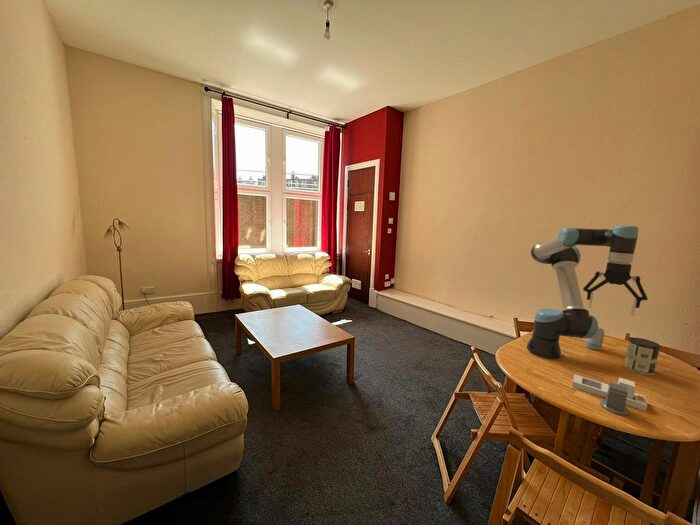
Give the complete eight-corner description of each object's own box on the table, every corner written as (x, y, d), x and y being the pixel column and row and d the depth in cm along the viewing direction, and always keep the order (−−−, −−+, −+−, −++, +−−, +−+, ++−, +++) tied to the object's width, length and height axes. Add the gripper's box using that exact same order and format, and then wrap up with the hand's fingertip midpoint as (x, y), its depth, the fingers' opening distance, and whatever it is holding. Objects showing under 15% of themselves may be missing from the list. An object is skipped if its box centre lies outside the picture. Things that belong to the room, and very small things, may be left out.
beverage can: (584, 344, 162) (588, 324, 160) (600, 347, 158) (604, 327, 156) (585, 348, 157) (589, 327, 155) (602, 352, 153) (606, 331, 151)
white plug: (616, 395, 112) (619, 382, 111) (616, 390, 115) (619, 377, 114) (632, 400, 109) (635, 386, 108) (631, 395, 112) (634, 381, 111)
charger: (605, 400, 110) (609, 381, 109) (622, 406, 107) (626, 386, 106) (605, 406, 107) (609, 387, 105) (623, 412, 103) (627, 392, 102)
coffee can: (642, 365, 140) (648, 338, 138) (660, 376, 130) (667, 348, 128) (618, 362, 142) (623, 336, 140) (634, 373, 132) (640, 345, 130)
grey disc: (600, 408, 107) (600, 406, 106) (600, 398, 113) (600, 396, 112) (629, 418, 101) (629, 416, 101) (627, 407, 107) (628, 406, 107)
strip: (572, 386, 120) (573, 380, 119) (573, 377, 127) (574, 371, 126) (645, 411, 106) (647, 404, 105) (643, 399, 113) (644, 392, 112)
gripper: (581, 259, 124) (573, 306, 127) (664, 268, 108) (653, 320, 111) (581, 258, 129) (574, 302, 133) (661, 265, 113) (650, 316, 117)
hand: (610, 311), depth 122 cm, fingers open, 13 cm apart
